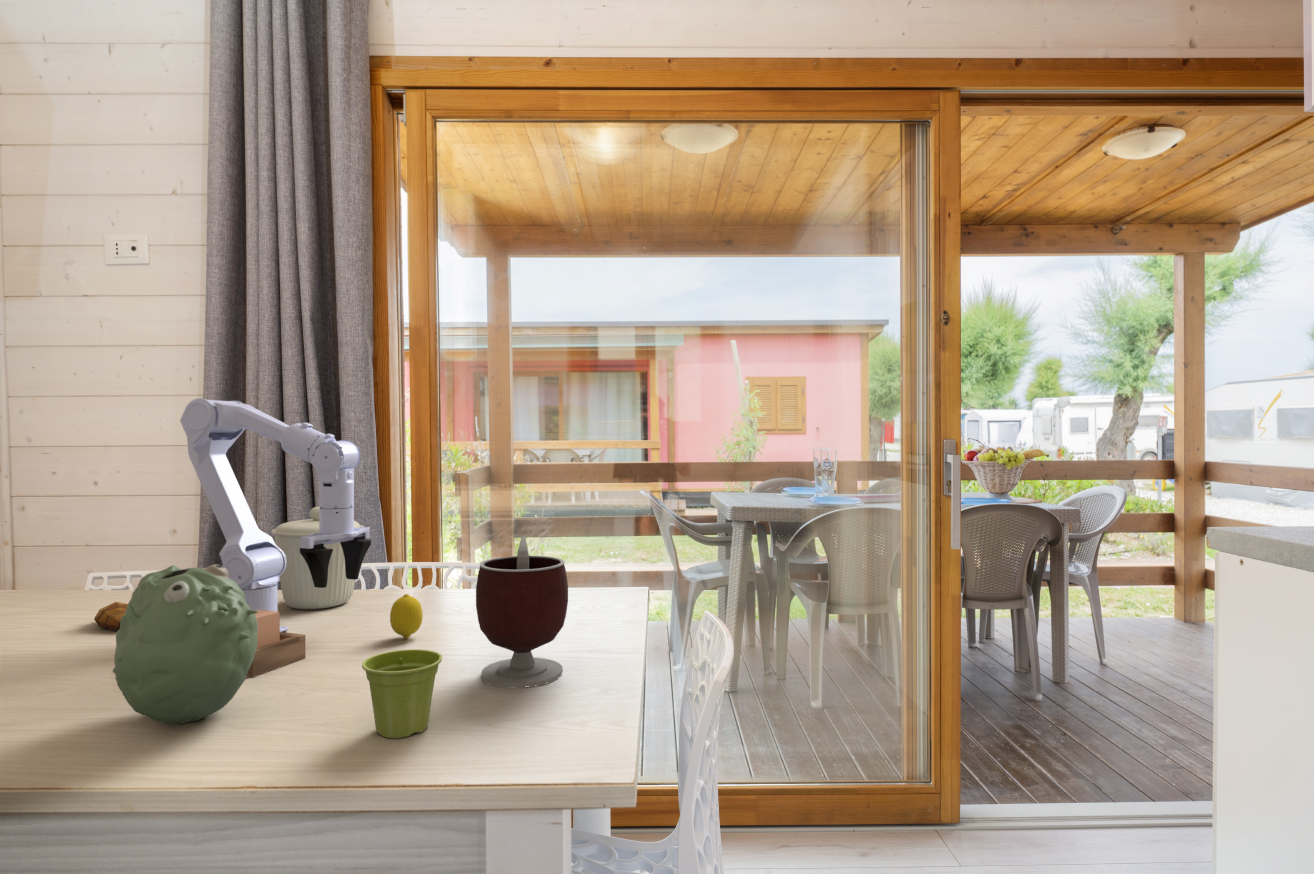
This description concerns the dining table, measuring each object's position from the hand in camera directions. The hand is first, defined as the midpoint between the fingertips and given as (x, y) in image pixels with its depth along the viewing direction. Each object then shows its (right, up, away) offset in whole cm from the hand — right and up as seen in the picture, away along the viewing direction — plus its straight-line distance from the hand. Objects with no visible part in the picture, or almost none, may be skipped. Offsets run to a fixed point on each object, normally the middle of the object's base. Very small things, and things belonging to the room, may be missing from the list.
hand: (336, 582), depth 130 cm
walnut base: (-6, -10, -15) cm, 19 cm away
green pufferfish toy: (-3, -10, -37) cm, 39 cm away
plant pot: (+26, -10, -40) cm, 49 cm away
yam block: (-6, -7, -15) cm, 17 cm away
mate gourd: (+37, -10, -19) cm, 43 cm away
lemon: (+13, -10, 0) cm, 16 cm away
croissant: (-45, -10, +7) cm, 47 cm away
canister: (-15, -10, +26) cm, 31 cm away
